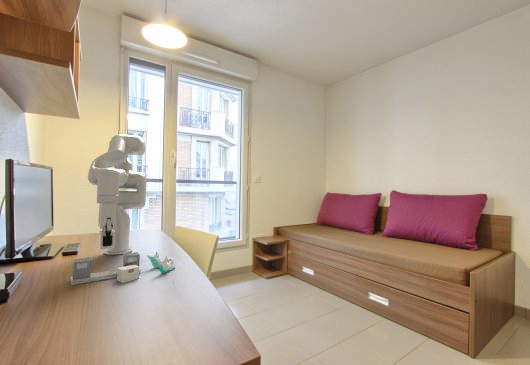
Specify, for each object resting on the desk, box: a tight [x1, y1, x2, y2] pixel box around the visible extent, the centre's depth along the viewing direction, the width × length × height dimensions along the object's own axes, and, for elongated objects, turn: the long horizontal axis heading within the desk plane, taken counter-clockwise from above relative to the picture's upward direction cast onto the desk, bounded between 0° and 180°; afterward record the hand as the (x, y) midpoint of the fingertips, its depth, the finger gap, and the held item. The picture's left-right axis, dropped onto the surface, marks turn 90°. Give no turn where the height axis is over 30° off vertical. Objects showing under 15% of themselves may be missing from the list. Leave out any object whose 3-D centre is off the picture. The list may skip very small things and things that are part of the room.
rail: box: [70, 251, 142, 286], centre depth 98 cm, size 5×22×8 cm, turn 127°
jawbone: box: [146, 251, 176, 274], centre depth 109 cm, size 12×8×9 cm, turn 45°
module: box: [98, 230, 115, 250], centre depth 106 cm, size 5×5×6 cm
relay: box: [116, 265, 140, 284], centre depth 97 cm, size 4×6×4 cm
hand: (106, 243), depth 105 cm, fingers closed on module, 4 cm apart
